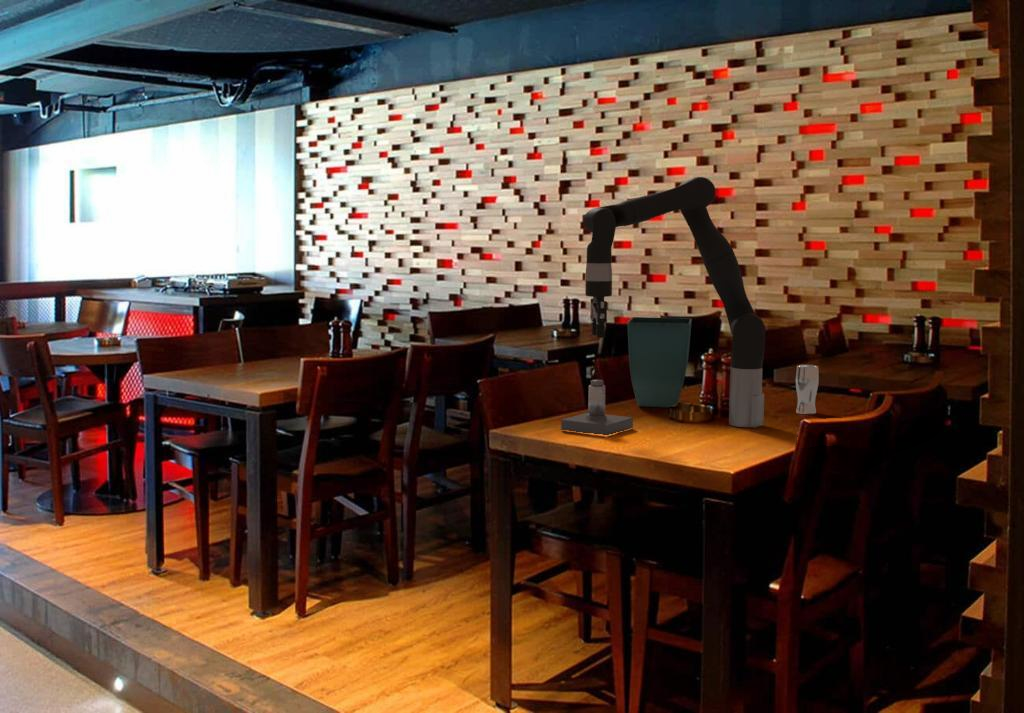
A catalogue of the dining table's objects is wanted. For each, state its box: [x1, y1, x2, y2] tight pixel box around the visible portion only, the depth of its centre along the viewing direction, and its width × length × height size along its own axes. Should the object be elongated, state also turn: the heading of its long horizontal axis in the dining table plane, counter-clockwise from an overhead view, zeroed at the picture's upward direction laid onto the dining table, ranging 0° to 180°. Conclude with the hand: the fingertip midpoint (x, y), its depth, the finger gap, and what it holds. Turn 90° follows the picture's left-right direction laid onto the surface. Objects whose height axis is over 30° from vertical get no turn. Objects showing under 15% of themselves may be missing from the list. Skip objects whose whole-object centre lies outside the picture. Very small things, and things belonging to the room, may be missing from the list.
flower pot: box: [627, 316, 693, 408], centre depth 337 cm, size 20×20×28 cm
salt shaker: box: [586, 379, 607, 420], centre depth 293 cm, size 5×5×11 cm
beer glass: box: [795, 364, 820, 415], centre depth 323 cm, size 7×7×15 cm
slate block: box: [560, 412, 634, 435], centre depth 294 cm, size 15×15×4 cm
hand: (598, 336), depth 291 cm, fingers open, 8 cm apart
